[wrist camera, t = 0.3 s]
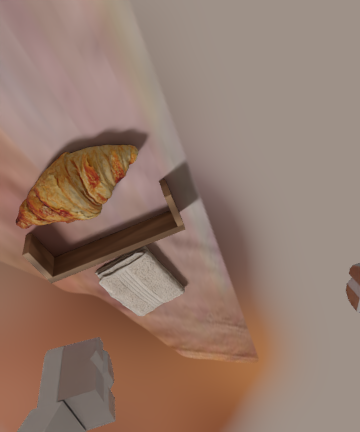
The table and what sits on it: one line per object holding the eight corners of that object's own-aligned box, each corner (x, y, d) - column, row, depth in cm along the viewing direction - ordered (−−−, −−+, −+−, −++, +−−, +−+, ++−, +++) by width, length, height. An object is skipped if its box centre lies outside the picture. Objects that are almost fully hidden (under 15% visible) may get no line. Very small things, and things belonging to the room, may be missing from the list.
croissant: (120, 118, 48) (109, 116, 40) (158, 175, 50) (154, 183, 42) (10, 193, 51) (-20, 205, 43) (50, 244, 53) (28, 264, 45)
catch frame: (25, 235, 53) (22, 255, 49) (164, 178, 52) (170, 194, 49) (52, 263, 58) (51, 283, 55) (179, 212, 57) (185, 229, 54)
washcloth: (142, 240, 60) (145, 252, 58) (185, 284, 72) (189, 296, 70) (90, 270, 62) (91, 282, 60) (141, 309, 74) (143, 320, 71)
